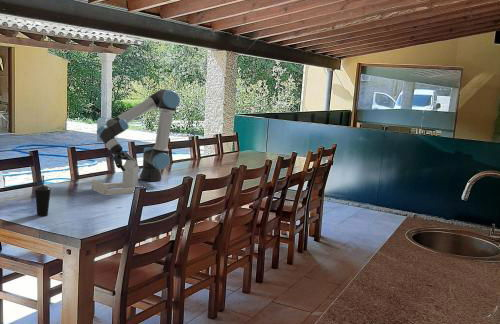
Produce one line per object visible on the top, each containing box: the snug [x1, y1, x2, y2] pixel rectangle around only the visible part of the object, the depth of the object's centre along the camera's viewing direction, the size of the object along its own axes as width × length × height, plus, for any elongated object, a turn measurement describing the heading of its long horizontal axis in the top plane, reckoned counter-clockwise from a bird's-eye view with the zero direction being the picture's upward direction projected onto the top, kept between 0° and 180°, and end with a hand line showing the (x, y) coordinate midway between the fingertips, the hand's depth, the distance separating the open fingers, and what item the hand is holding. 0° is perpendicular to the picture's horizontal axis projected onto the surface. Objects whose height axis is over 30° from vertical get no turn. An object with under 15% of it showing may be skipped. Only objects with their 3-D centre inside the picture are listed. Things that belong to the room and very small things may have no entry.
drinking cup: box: [34, 175, 52, 217], centre depth 246 cm, size 8×8×20 cm
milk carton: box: [121, 160, 139, 188], centre depth 318 cm, size 7×7×19 cm
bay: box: [91, 179, 146, 196], centre depth 314 cm, size 28×18×6 cm
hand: (133, 173), depth 317 cm, fingers open, 13 cm apart
